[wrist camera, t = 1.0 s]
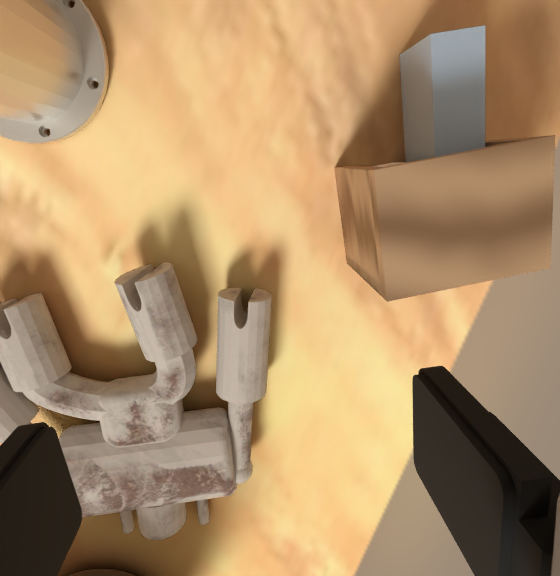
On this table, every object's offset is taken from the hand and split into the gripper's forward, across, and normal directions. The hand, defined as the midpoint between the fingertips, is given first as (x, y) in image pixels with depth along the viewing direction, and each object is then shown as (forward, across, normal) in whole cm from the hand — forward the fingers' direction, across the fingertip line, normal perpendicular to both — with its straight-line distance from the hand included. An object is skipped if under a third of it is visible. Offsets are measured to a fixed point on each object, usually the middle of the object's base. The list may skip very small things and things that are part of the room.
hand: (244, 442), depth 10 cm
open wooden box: (+28, -15, -2) cm, 32 cm away
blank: (+28, -17, -8) cm, 34 cm away
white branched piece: (+29, +13, +16) cm, 35 cm away
